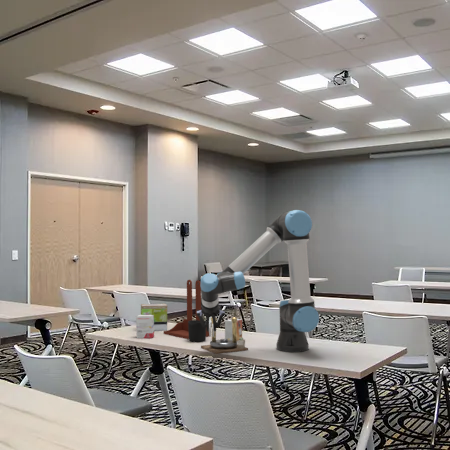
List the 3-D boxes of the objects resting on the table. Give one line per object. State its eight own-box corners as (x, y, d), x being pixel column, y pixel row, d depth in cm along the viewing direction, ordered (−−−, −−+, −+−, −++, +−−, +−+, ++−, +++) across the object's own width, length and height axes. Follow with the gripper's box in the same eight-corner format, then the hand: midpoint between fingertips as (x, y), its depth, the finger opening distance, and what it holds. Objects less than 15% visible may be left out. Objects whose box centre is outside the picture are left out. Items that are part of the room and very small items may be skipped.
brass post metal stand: (241, 343, 260) (241, 315, 260) (233, 349, 247) (232, 319, 248) (215, 342, 264) (215, 314, 265) (206, 347, 252) (205, 317, 252)
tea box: (141, 331, 308) (141, 305, 308) (140, 328, 317) (140, 303, 318) (167, 330, 311) (167, 304, 311) (166, 327, 320) (165, 302, 321)
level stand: (248, 350, 252) (248, 337, 252) (216, 354, 244) (216, 341, 244) (231, 344, 267) (231, 332, 267) (200, 347, 259) (200, 335, 259)
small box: (233, 342, 273) (233, 321, 274) (224, 340, 277) (224, 320, 277) (242, 339, 280) (242, 319, 280) (233, 338, 283) (233, 318, 283)
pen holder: (204, 338, 283) (204, 319, 283) (208, 342, 274) (207, 322, 274) (186, 339, 281) (186, 320, 281) (189, 343, 272) (189, 323, 272)
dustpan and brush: (163, 334, 299) (163, 280, 300) (182, 331, 308) (182, 278, 309) (189, 339, 281) (189, 282, 282) (209, 336, 290) (208, 280, 291)
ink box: (154, 336, 290) (154, 314, 290) (151, 338, 285) (151, 316, 286) (139, 336, 292) (139, 314, 292) (135, 338, 287) (135, 315, 287)
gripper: (194, 308, 237) (196, 341, 252) (225, 308, 237) (226, 341, 252) (195, 295, 242) (197, 328, 258) (225, 295, 242) (226, 328, 258)
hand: (211, 334), depth 255 cm, fingers closed
